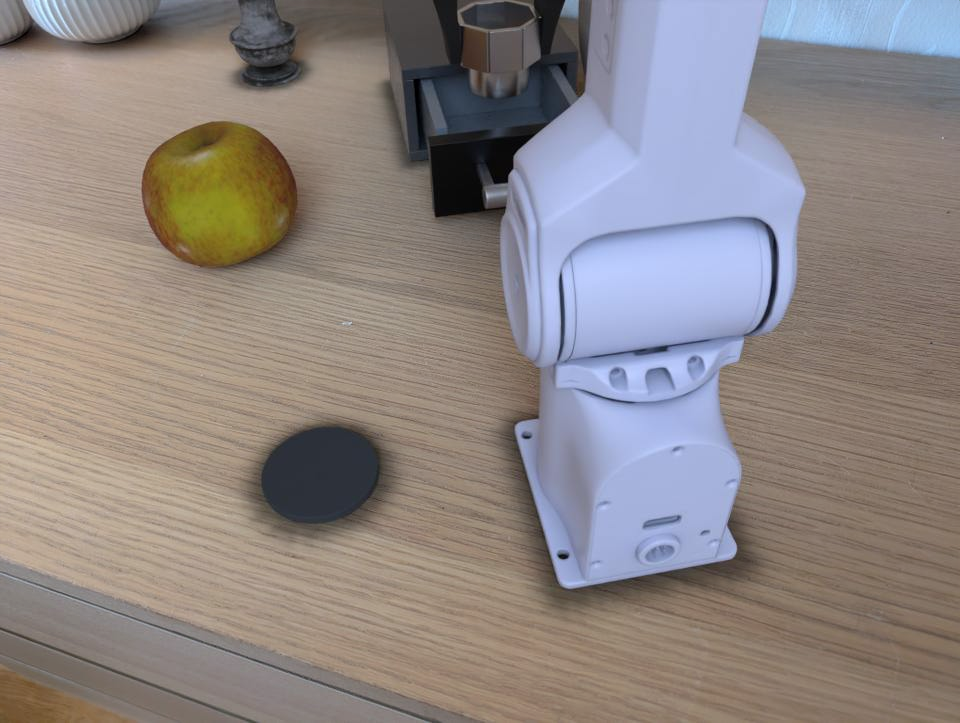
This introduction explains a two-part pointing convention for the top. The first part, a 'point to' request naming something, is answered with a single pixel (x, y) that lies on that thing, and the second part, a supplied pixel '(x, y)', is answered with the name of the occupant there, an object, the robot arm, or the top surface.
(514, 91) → the silver hollow octagonal piece
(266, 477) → the coaster
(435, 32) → the cabinet
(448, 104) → the drawer
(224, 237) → the fruit
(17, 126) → the top surface
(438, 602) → the top surface
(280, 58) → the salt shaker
